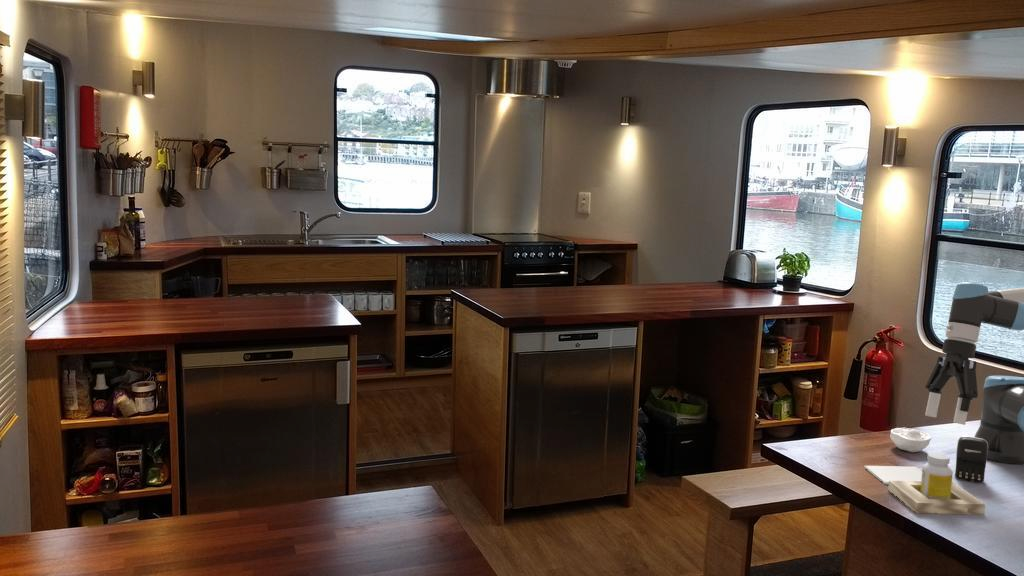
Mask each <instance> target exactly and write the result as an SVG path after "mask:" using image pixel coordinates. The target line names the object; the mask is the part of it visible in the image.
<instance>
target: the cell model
mask: <svg viewBox="0 0 1024 576" xmlns="http://www.w3.org/2000/svg"><path fill="white" fill-rule="evenodd" d="M889 437H890V439H891V440H892V442H893V443H894V445H895V446H896V447H897V448H898V449H900V450H902V451H907V452H909V453H918V452H920V451H923V450H924V449H926V448H927V447H928V446H929V445H930V442H931V440H932V439H933V438H932V437H931V435H930V434H929V433H926V432H924V431H921V430H918V429H913V428H907V427H896V428H892V429H891V430H890V436H889Z"/></svg>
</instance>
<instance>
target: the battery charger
mask: <svg viewBox="0 0 1024 576" xmlns="http://www.w3.org/2000/svg"><path fill="white" fill-rule="evenodd" d="M956 445H957V446H956V455H955V469H954V470H955V471H954V477H955V478H956V479H957V480H960V481H963V482H971V483H978V484H983V483H984V482H985V473H986V466H987V461H988V459H987V455H988V443H987V441H986V440H984V439H981V438H976V437H975V436H968V435H962V436H960V437H959V438H958V440H957V444H956Z"/></svg>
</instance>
